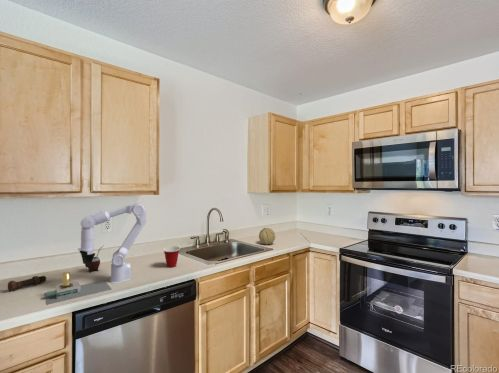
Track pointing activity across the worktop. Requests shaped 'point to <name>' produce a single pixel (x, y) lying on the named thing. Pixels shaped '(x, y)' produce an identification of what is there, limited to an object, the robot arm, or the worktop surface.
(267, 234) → the cantaloupe
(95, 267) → the mate gourd
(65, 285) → the pin
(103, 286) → the mat
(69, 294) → the grey teal hollow block
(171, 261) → the plastic cup
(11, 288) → the bolt
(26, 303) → the worktop surface
